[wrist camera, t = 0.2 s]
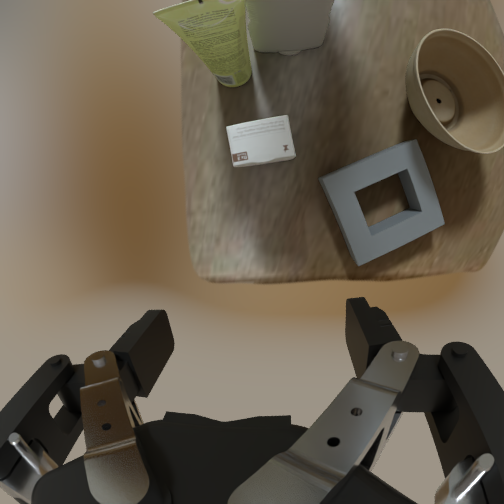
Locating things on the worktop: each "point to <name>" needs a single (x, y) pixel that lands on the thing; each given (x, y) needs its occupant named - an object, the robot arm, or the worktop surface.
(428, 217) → the socket frame
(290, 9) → the tall pale column
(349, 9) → the worktop surface
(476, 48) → the planter bowl
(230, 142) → the skincare box
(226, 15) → the tube
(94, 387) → the robot arm
